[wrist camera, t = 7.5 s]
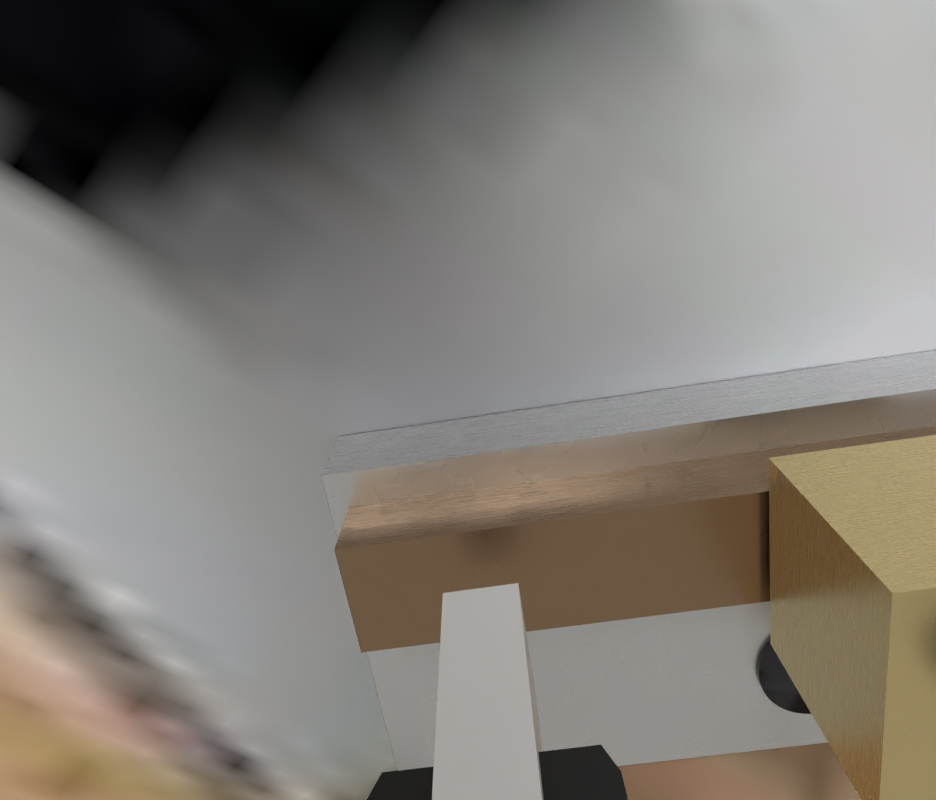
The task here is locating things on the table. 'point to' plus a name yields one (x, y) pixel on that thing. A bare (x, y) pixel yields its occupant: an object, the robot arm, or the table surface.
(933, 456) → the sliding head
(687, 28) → the table surface
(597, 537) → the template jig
